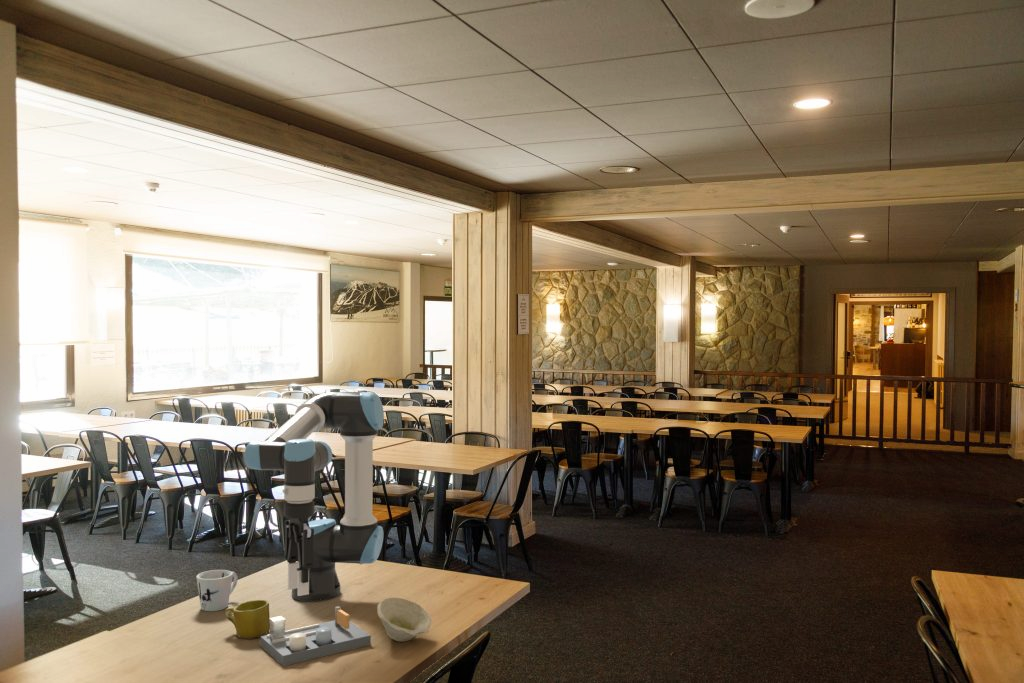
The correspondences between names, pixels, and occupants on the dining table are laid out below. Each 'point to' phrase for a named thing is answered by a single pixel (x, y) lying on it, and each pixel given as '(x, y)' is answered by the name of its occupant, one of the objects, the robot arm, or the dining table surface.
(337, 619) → the paddle
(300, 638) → the button ivory
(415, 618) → the bowl
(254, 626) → the mug
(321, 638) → the button bluegrey
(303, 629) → the panel
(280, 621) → the slider knob
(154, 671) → the dining table surface
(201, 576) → the mug
